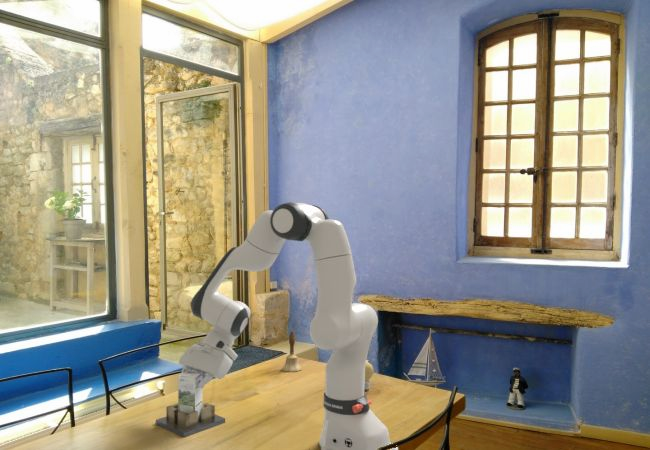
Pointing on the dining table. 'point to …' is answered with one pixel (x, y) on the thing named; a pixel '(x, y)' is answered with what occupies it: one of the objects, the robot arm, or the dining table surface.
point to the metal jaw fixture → (189, 420)
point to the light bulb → (368, 375)
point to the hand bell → (291, 357)
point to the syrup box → (189, 392)
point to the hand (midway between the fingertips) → (189, 383)
